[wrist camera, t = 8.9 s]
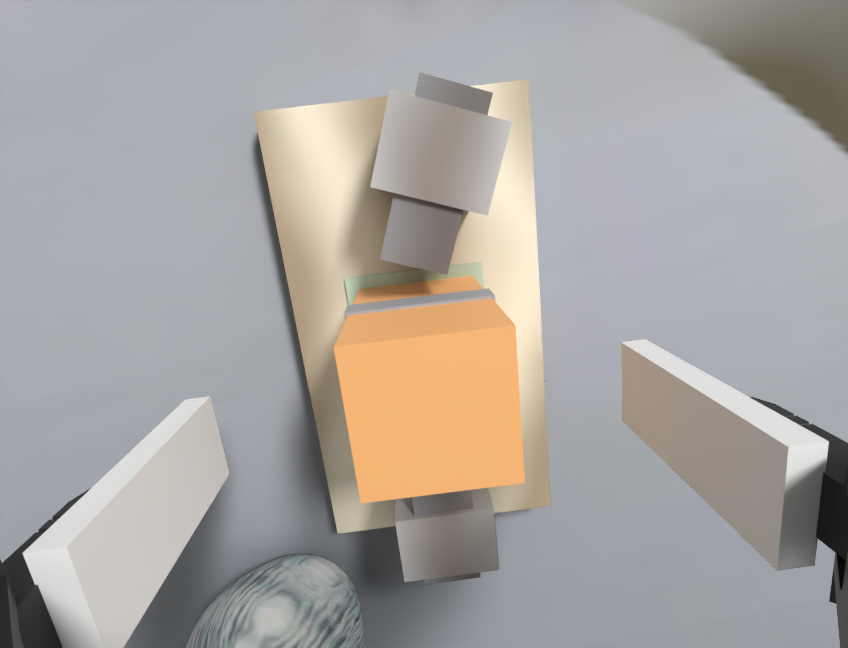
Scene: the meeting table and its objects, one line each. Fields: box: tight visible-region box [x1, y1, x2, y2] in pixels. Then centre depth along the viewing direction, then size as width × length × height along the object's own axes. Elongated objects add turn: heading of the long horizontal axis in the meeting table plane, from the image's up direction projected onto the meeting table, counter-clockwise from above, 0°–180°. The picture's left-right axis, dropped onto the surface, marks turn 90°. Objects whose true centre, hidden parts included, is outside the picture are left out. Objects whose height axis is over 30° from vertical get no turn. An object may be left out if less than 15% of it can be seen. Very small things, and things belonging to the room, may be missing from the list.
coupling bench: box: [254, 73, 550, 585], centre depth 20 cm, size 11×20×6 cm, turn 7°
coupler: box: [334, 276, 525, 503], centre depth 17 cm, size 5×5×8 cm
